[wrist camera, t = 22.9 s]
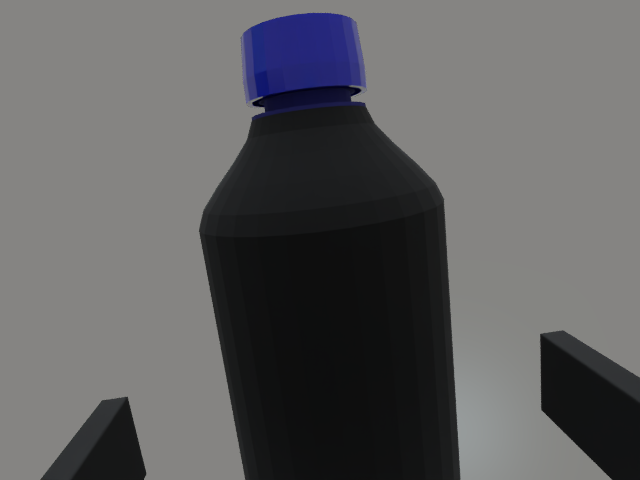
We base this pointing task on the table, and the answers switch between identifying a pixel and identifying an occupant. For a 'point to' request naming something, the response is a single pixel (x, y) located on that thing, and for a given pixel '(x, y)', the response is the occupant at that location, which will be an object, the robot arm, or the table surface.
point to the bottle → (329, 274)
